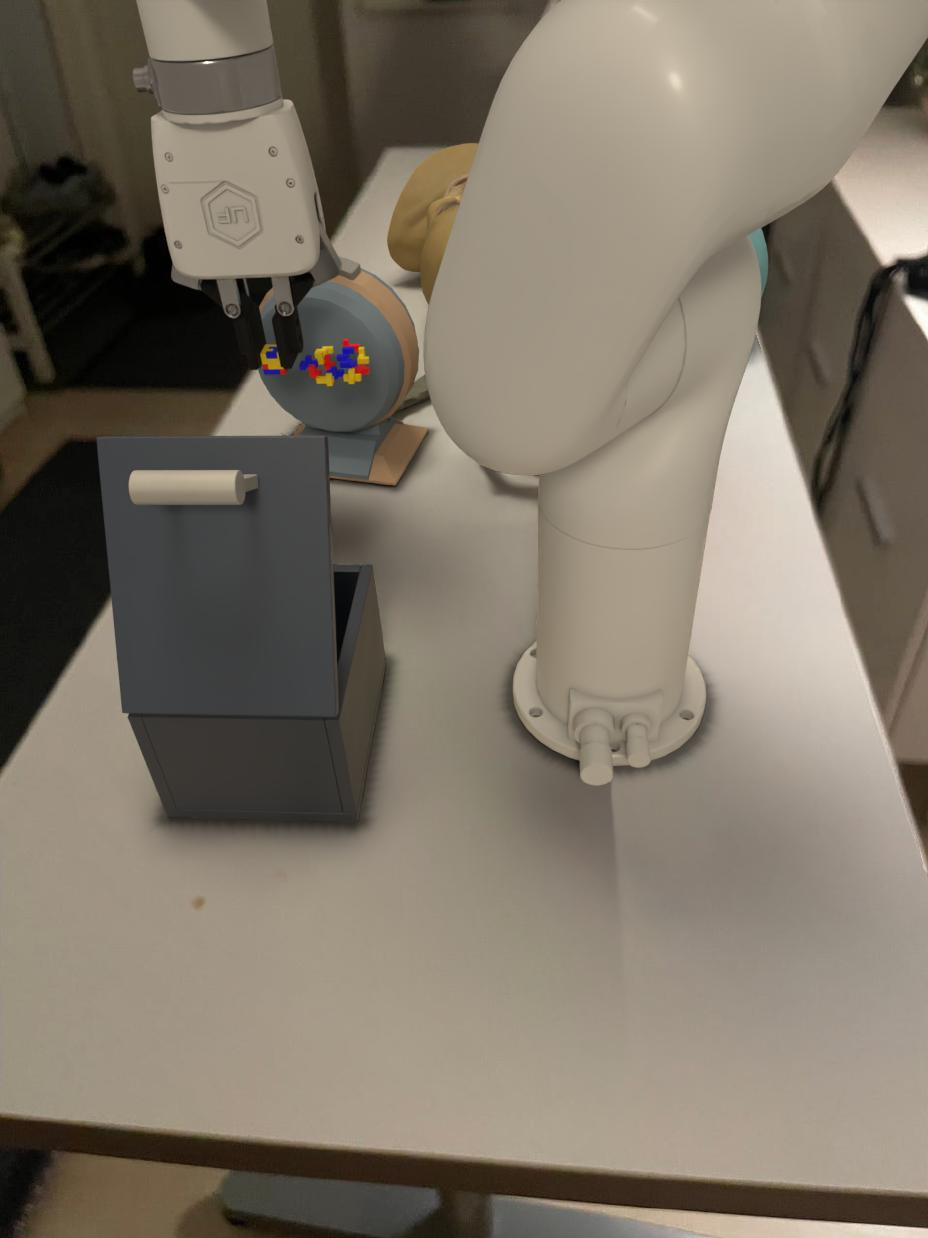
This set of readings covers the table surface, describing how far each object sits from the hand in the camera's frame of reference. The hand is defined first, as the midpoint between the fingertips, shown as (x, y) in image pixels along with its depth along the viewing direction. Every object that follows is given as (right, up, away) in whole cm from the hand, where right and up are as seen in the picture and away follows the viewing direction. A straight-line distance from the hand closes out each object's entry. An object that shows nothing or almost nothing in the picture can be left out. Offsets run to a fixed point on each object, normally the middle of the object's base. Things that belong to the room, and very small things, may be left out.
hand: (274, 359), depth 71 cm
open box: (+3, -27, -9) cm, 28 cm away
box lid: (+2, -17, -22) cm, 28 cm away
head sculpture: (+15, +34, +46) cm, 60 cm away
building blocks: (+3, -1, +1) cm, 3 cm away
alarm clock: (+4, -4, +17) cm, 18 cm away
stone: (+12, +3, +23) cm, 26 cm away
